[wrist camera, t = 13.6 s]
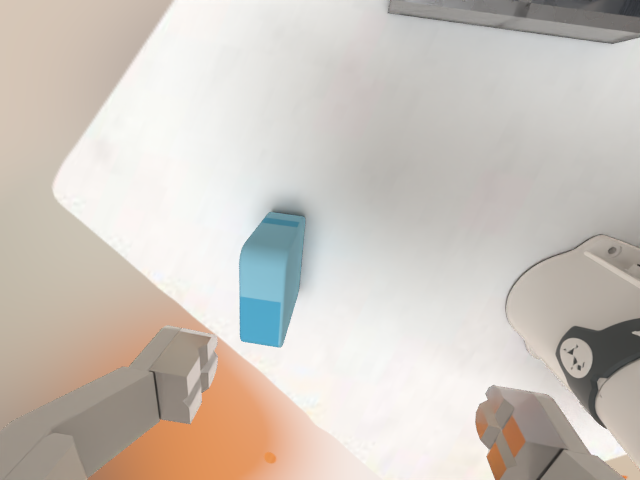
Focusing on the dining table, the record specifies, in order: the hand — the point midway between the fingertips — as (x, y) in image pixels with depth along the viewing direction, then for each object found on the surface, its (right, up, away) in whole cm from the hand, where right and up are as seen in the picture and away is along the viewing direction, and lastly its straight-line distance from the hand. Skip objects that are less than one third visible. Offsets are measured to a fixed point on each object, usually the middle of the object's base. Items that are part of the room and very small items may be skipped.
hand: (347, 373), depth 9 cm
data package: (-5, +2, +32) cm, 33 cm away
